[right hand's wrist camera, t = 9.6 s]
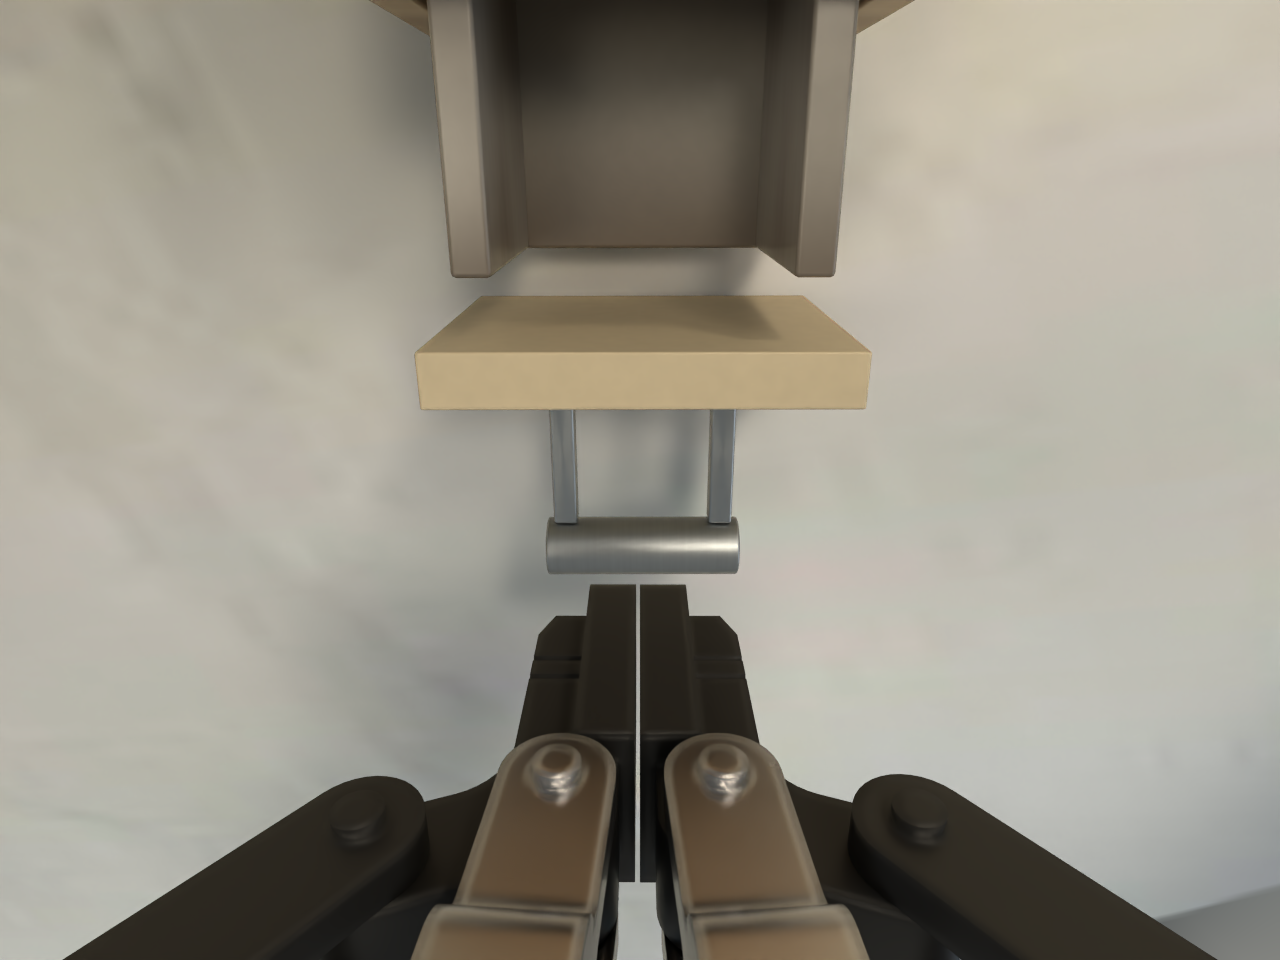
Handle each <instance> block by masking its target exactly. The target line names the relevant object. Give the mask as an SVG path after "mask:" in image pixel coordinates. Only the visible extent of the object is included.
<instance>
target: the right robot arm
mask: <svg viewBox="0 0 1280 960" xmlns="http://www.w3.org/2000/svg"><path fill="white" fill-rule="evenodd" d="M635 795H636V584H591V585H590V591H589V599H588V608H587V616H556V617H555V618H554V619H553V620H552V621H551V622H550V623H549V624H548V625H547V626H546V627H545V628H544V629H543V631H542V632H541V633H540V634H539V636H538V640H537V645H536V650H535V654H534V660H533V663H532V668H531V673H530V679H529V682H528V687H527V691H526V696H525V701H524V705H523V710H522V715H521V719H520V724H519V729H518V733H517V738H516V743H515V747H514V749H513V750H512V751H511V752H510V753H509V754H508V755H507V756H506V757H505V759H504V760H503V761H502V763H501V765H500V767H499V770H498V773H497V774H495V775H494V776H493V777H491V778H490V779H489V780H487V781H485V782H484V783H482V784H480V785H478V786H476V787H474V788H472V789H469V790H467V791H464V792H460V793H457V794H454V795H450V796H446V797H442V798H438V799H434V800H430V801H426V802H424V801H423V798H422V796H421V794H420V793H419V791H418V790H417V789H416V788H415V787H414V786H412V785H411V784H409V783H407V782H406V781H403V780H400V779H398V778H393V777H387V776H371V777H363V778H358V779H354V780H351V781H347V782H344V783H342V784H340V785H337V786H335V787H333V788H331V789H329V790H328V791H326V792H324V793H322V794H321V795H319V796H318V797H316V798H315V799H313V800H311V801H310V802H308V803H307V804H305V805H304V806H302V807H301V808H299V809H297V810H296V811H294V812H293V813H291V814H290V815H288V816H286V817H285V818H283V819H282V820H280V821H279V822H277V823H276V824H274V825H272V826H271V827H269V828H268V829H266V830H265V831H263V832H261V833H260V834H258V835H257V836H255V837H254V838H252V839H251V840H249V841H247V842H246V843H244V844H243V845H241V846H240V847H238V848H236V849H235V850H233V851H232V852H230V853H229V854H227V855H226V856H224V857H222V858H221V859H219V860H218V861H216V862H215V863H213V864H211V865H210V866H208V867H207V868H205V869H204V870H202V871H201V872H199V873H197V874H196V875H194V876H193V877H191V878H190V879H188V880H186V881H185V882H183V883H182V884H180V885H179V886H177V887H176V888H174V889H172V890H171V891H169V892H168V893H166V894H165V895H163V896H161V897H160V898H158V899H157V900H155V901H154V902H152V903H151V904H149V905H147V906H146V907H144V908H143V909H141V910H140V911H138V912H136V913H135V914H133V915H132V916H130V917H129V918H127V919H126V920H124V921H122V922H121V923H119V924H118V925H116V926H115V927H113V928H111V929H110V930H108V931H107V932H105V933H104V934H102V935H101V936H99V937H97V938H96V939H94V940H93V941H91V942H90V943H88V944H86V945H85V946H83V947H82V948H80V949H79V950H77V951H76V952H74V953H72V954H71V955H69V956H68V957H66V958H65V959H63V960H617V952H618V895H619V882H635ZM640 882H656V909H657V917H658V920H659V923H660V926H661V928H662V952H663V960H960V959H961V960H1217V959H1215V958H1214V957H1212V956H1211V955H1209V954H1208V953H1206V952H1204V951H1203V950H1201V949H1200V948H1198V947H1197V946H1195V945H1193V944H1192V943H1190V942H1189V941H1187V940H1186V939H1184V938H1183V937H1181V936H1179V935H1178V934H1176V933H1175V932H1173V931H1172V930H1170V929H1168V928H1167V927H1165V926H1164V925H1162V924H1161V923H1159V922H1158V921H1156V920H1154V919H1153V918H1151V917H1150V916H1148V915H1147V914H1145V913H1144V912H1142V911H1140V910H1139V909H1137V908H1136V907H1134V906H1133V905H1131V904H1129V903H1128V902H1126V901H1125V900H1123V899H1122V898H1120V897H1119V896H1117V895H1115V894H1114V893H1112V892H1111V891H1109V890H1108V889H1106V888H1104V887H1103V886H1101V885H1100V884H1098V883H1097V882H1095V881H1094V880H1092V879H1090V878H1089V877H1087V876H1086V875H1084V874H1083V873H1081V872H1079V871H1078V870H1076V869H1075V868H1073V867H1072V866H1070V865H1069V864H1067V863H1065V862H1064V861H1062V860H1061V859H1059V858H1058V857H1056V856H1054V855H1053V854H1051V853H1050V852H1048V851H1047V850H1045V849H1044V848H1042V847H1040V846H1039V845H1037V844H1036V843H1034V842H1033V841H1031V840H1029V839H1028V838H1026V837H1025V836H1023V835H1022V834H1020V833H1019V832H1017V831H1015V830H1014V829H1012V828H1011V827H1009V826H1008V825H1006V824H1004V823H1003V822H1001V821H1000V820H998V819H997V818H995V817H994V816H992V815H990V814H989V813H987V812H986V811H984V810H983V809H981V808H979V807H978V806H976V805H975V804H973V803H972V802H970V801H969V800H967V799H965V798H964V797H962V796H961V795H959V794H958V793H956V792H954V791H953V790H951V789H949V788H948V787H946V786H944V785H942V784H940V783H937V782H935V781H932V780H929V779H926V778H923V777H918V776H913V775H905V774H891V775H885V776H880V777H877V778H874V779H872V780H870V781H868V782H867V783H865V784H864V785H863V786H862V787H860V788H859V790H858V791H857V793H856V794H855V796H854V799H853V803H851V802H847V801H843V800H839V799H835V798H831V797H827V796H823V795H819V794H816V793H813V792H810V791H807V790H805V789H802V788H800V787H797V786H796V785H794V784H792V783H790V782H789V781H787V780H786V779H785V778H784V776H783V773H782V770H781V767H780V765H779V763H778V761H777V760H776V759H775V757H774V756H773V755H772V754H771V753H770V752H769V751H768V750H767V749H766V748H764V747H763V746H761V745H760V744H759V739H758V734H757V729H756V724H755V719H754V714H753V709H752V705H751V700H750V695H749V690H748V685H747V680H746V679H745V671H744V666H743V661H742V656H741V651H740V646H739V641H738V637H737V634H736V633H735V632H734V631H733V630H732V629H731V628H730V627H729V625H728V624H727V623H726V622H725V621H724V620H723V619H722V618H721V617H720V616H689V610H688V601H687V591H686V585H640ZM959 958H960V959H959Z"/></svg>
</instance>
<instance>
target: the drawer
mask: <svg viewBox="0 0 1280 960" xmlns="http://www.w3.org/2000/svg"><path fill="white" fill-rule="evenodd" d="M427 9H428V20H429V32H430V43H431V54H432V65H433V77H434V88H435V99H436V111H437V122H438V133H439V144H440V156H441V167H442V178H443V190H444V201H445V212H446V223H447V235H448V246H449V257H450V269H451V274H452V276H453V277H455V278H488V277H490V276H492V275H493V274H494V273H496V272H497V271H498V270H499V269H501V268H502V267H503V266H505V265H506V264H507V263H509V262H510V261H511V260H512V259H514V258H515V257H516V256H518V255H519V254H520V253H521V252H523V251H524V250H525V249H527V248H759V249H760V250H761V251H763V252H764V253H765V254H767V255H768V256H769V257H771V258H772V259H773V260H775V261H776V262H777V263H779V264H780V265H782V266H783V267H784V268H786V269H787V270H788V271H790V272H791V273H792V274H794V275H795V276H797V277H832V276H834V274H835V271H836V259H837V248H838V236H839V225H840V214H841V202H842V191H843V180H844V168H845V157H846V145H847V134H848V123H849V111H850V100H851V89H852V77H853V66H854V54H855V43H856V32H857V20H858V9H859V0H427ZM871 357H872V353H871V351H870V350H868V349H867V348H866V347H865V346H863V345H862V344H861V343H860V342H859V341H857V340H856V339H855V338H854V337H853V336H851V335H850V334H849V333H848V332H847V331H845V330H844V329H843V328H842V327H840V326H839V325H838V324H837V323H836V322H834V321H833V320H832V319H831V318H830V317H828V316H827V315H826V314H825V313H824V312H822V311H821V310H820V309H819V308H817V307H816V306H815V305H814V304H813V303H811V302H810V301H809V300H808V299H807V298H805V297H804V296H481V297H480V298H479V299H477V300H476V301H475V302H474V303H473V304H472V305H470V306H469V307H468V308H467V309H466V310H465V311H463V312H462V313H461V314H460V315H459V316H458V317H456V318H455V319H454V320H453V321H452V322H451V323H449V324H448V325H447V326H446V327H445V328H444V329H442V330H441V331H440V332H439V333H438V334H437V335H435V336H434V337H433V338H432V339H431V340H429V341H428V342H427V343H426V344H425V345H424V346H422V347H421V348H420V349H419V350H418V351H417V352H415V364H416V373H417V382H418V391H419V400H420V408H421V409H422V410H549V416H550V437H551V459H552V480H553V502H554V517H550V518H549V520H548V523H547V532H546V562H547V569H548V572H549V574H735V573H737V571H738V567H739V557H740V538H739V526H738V521H737V518H736V517H731V512H732V490H733V468H734V446H735V424H736V409H865V408H866V403H867V394H868V385H869V376H870V367H871ZM575 410H710V427H709V458H708V489H707V517H578V514H579V509H578V479H577V449H576V420H575Z"/></svg>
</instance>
